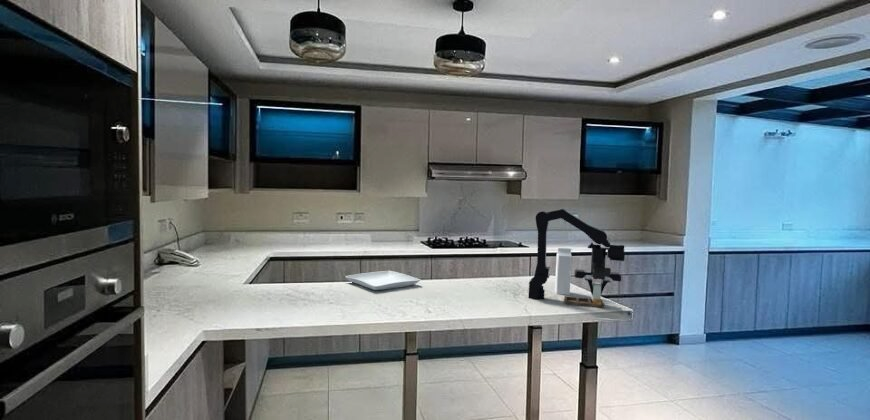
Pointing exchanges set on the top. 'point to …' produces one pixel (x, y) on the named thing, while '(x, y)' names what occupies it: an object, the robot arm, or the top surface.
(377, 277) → the square plate
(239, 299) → the top surface
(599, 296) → the block
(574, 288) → the top surface
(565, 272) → the milk
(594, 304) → the rack
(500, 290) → the top surface
